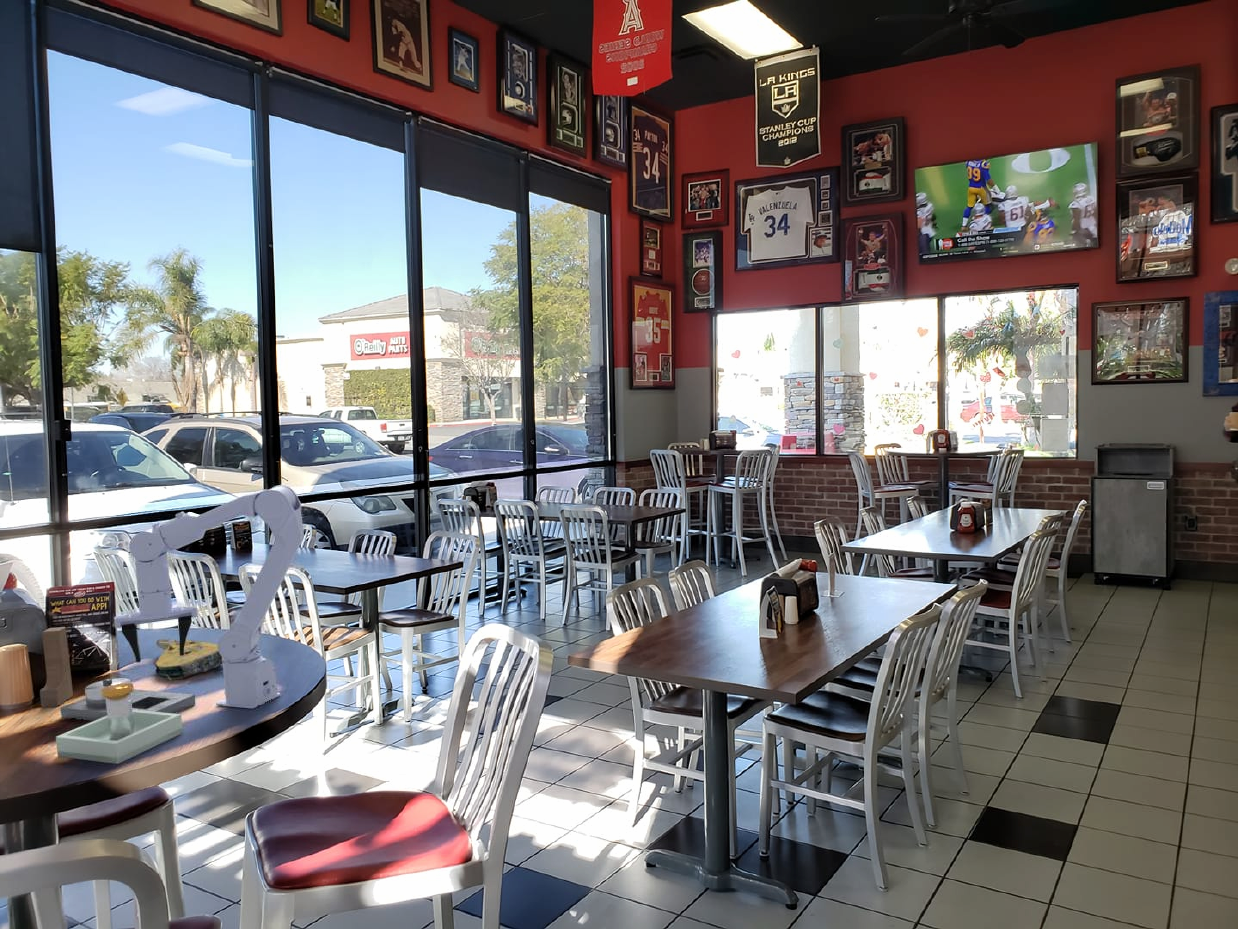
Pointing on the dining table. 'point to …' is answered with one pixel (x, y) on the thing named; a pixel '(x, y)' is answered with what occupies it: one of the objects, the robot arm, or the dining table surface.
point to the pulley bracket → (159, 701)
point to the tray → (99, 747)
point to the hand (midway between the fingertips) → (160, 657)
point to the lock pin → (119, 710)
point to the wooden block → (56, 668)
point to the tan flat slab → (186, 658)
